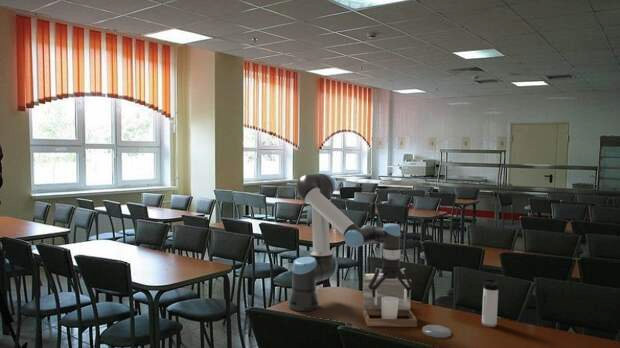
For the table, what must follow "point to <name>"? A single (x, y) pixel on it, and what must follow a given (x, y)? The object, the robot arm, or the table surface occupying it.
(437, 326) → the slate saucer
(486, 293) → the travel mug
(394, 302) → the white cup
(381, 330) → the table surface
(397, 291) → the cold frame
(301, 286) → the robot arm
